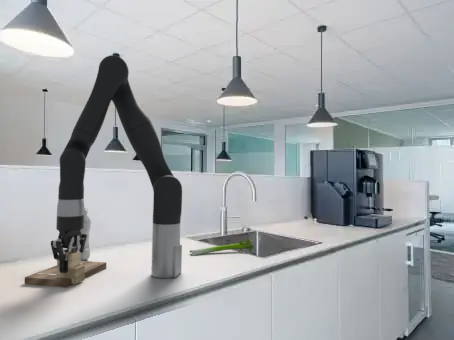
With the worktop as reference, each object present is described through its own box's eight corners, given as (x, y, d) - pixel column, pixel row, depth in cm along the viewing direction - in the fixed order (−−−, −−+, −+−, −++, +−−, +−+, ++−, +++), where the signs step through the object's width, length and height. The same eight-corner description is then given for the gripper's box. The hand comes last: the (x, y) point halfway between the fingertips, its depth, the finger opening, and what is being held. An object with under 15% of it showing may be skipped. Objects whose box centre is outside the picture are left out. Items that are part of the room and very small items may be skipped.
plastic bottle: (69, 263, 118) (71, 209, 119) (73, 258, 125) (75, 208, 126) (88, 262, 120) (90, 209, 121) (91, 258, 127) (92, 207, 127)
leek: (189, 257, 139) (251, 248, 150) (193, 264, 132) (257, 253, 143) (188, 244, 138) (251, 235, 149) (192, 250, 131) (257, 240, 142)
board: (106, 268, 113) (106, 262, 113) (66, 287, 92) (66, 280, 92) (71, 265, 116) (71, 259, 116) (24, 283, 95) (24, 276, 95)
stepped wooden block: (84, 280, 98) (85, 252, 98) (76, 284, 94) (76, 255, 94) (62, 278, 99) (63, 250, 100) (53, 282, 95) (53, 253, 96)
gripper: (65, 217, 90) (63, 278, 89) (95, 212, 104) (93, 265, 103) (42, 216, 91) (40, 276, 91) (74, 211, 105) (73, 263, 105)
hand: (68, 270), depth 97 cm, fingers closed on stepped wooden block, 4 cm apart
